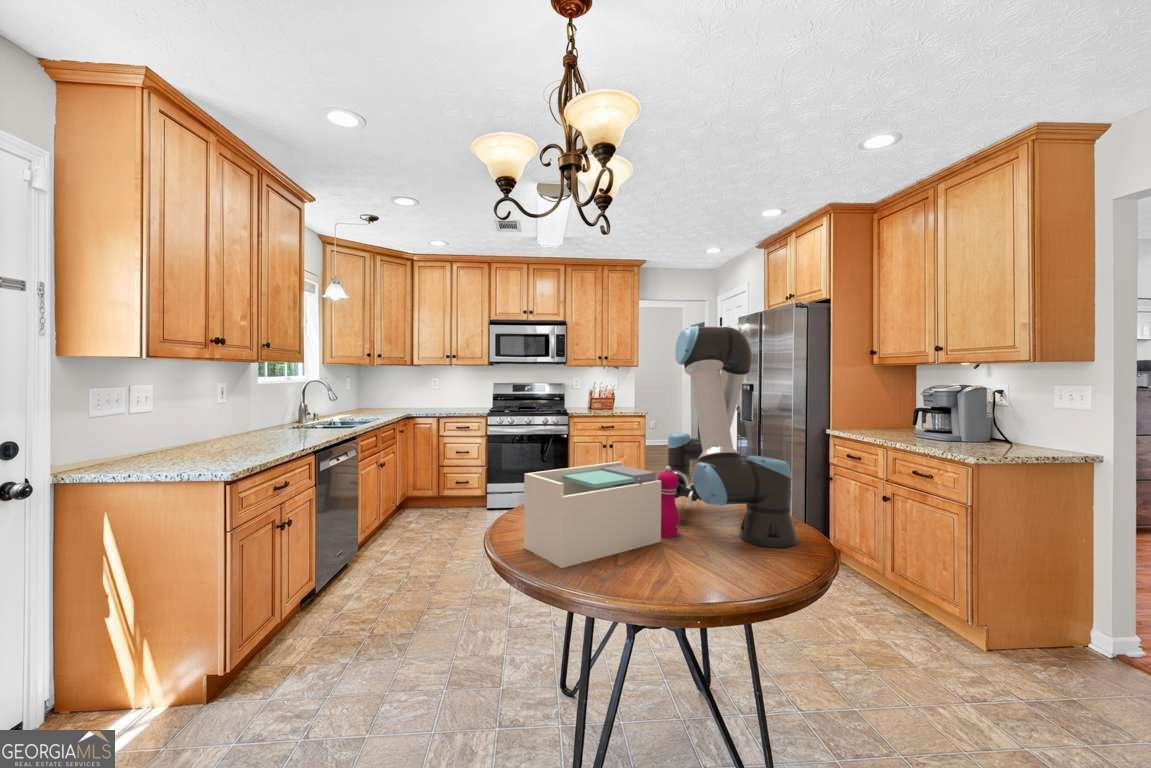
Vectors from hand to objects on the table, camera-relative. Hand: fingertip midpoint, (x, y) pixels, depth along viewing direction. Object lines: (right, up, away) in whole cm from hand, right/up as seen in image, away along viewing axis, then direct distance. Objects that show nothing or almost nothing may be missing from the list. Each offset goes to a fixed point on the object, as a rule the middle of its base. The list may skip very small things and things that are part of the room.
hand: (665, 498), depth 146 cm
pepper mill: (+1, -11, +3) cm, 12 cm away
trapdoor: (-16, +4, -4) cm, 17 cm away
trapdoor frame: (-21, -11, -7) cm, 25 cm away
